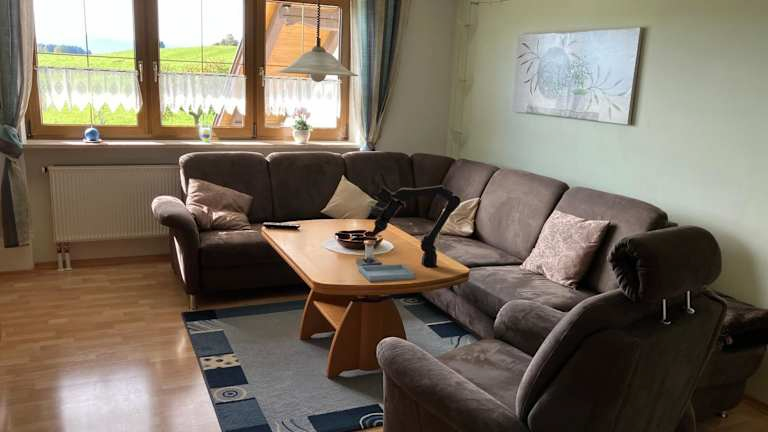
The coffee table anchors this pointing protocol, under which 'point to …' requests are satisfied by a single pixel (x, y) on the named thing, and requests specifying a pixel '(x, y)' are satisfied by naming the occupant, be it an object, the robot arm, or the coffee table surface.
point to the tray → (386, 272)
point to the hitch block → (362, 262)
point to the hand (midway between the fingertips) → (372, 233)
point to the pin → (369, 250)
